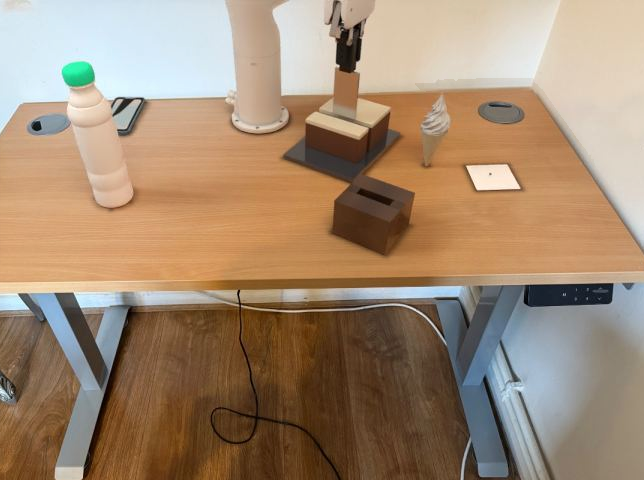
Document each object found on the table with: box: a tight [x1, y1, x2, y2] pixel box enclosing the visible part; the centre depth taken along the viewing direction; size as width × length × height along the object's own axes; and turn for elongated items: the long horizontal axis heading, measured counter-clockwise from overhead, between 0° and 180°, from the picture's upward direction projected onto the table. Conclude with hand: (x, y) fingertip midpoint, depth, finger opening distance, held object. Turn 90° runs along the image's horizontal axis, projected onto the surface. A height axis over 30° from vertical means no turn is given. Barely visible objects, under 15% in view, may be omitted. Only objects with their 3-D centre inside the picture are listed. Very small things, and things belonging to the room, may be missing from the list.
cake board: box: [283, 128, 401, 184], centre depth 109 cm, size 16×20×1 cm
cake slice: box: [304, 111, 369, 164], centre depth 105 cm, size 12×4×6 cm, turn 55°
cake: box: [318, 97, 392, 152], centre depth 109 cm, size 12×8×6 cm, turn 55°
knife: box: [332, 29, 361, 120], centre depth 98 cm, size 5×2×16 cm, turn 55°
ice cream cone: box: [419, 92, 451, 167], centre depth 99 cm, size 5×5×15 cm
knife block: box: [331, 173, 416, 256], centre depth 89 cm, size 10×9×7 cm
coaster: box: [465, 164, 521, 191], centre depth 100 cm, size 8×8×1 cm
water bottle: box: [61, 60, 134, 209], centre depth 91 cm, size 7×7×25 cm
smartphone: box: [110, 96, 146, 136], centre depth 120 cm, size 7×1×15 cm
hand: (347, 61), depth 96 cm, fingers closed on knife, 2 cm apart
